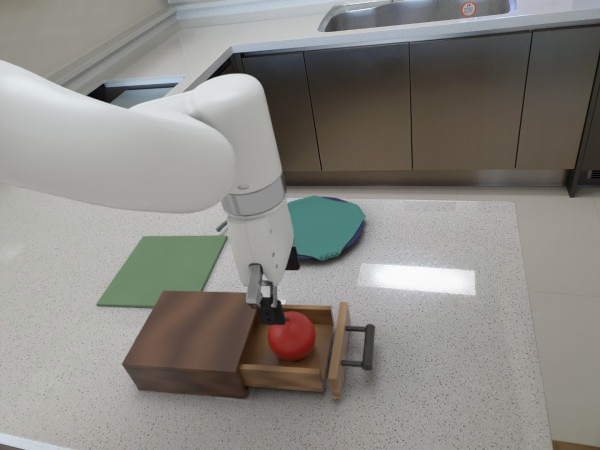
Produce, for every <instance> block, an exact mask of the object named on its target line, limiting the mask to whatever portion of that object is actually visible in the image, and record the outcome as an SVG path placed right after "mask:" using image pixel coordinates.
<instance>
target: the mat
mask: <svg viewBox="0 0 600 450" xmlns="http://www.w3.org/2000/svg"><path fill="white" fill-rule="evenodd" d="M228 238H229V236H228V235H143V236H142V237H141V238H140V240H139V242H137V244H136V246H135V247H134V248H133V250H132V252H131V253H130V255H129V256H128V257H127V259H126V260H125V262H124V263H123V264H122V266H121V267H120V269H119V270H118V272H117V273H116V275H115V276H114V277H113V279H112V280H111V282H110V283H109V284H108V286H107V287H106V289H105V291H104V292H103V293H102V295H101V296H100V298H99V299H98V301H97V302H96V303H95V305H96V306H97V307H113V308H114V307H117V308H144V309H145V308H146V309H153V308H154V306H155V304H156V302H157V301H158V299H159V297H160V295H161V293H162V292H163V291H204V288H205V286H206V284H207V282H208V280H209V277H210V276H211V273H212V272H213V269H214V267H215V265H216V263H217V262H218V259H219V257H220V255H221V252H222V250H223V249H224V247H225V244H226V242H227V240H228Z"/></svg>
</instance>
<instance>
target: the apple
mask: <svg viewBox="0 0 600 450" xmlns="http://www.w3.org/2000/svg"><path fill="white" fill-rule="evenodd" d="M284 315H285V318H286V323H285V325H270V327H269V330H268V343H269V346H270V348H271V350H272V351H273V353H274V354H275V355H277V356H278V357H279V358H281V359H283V360H287V361H290V362H298V361H301V360H303V359H304V358H305V357H306V356H307V355H308V354H309V353H310V352H311V350H312V349H313V347H314V344H315V340H316V332H315V328H314V325H313V324H312V322H311V321H310V319H309V318H308V317H306V316H305V315H304V314H302V313H299V312H294V311H290V312H285V313H284Z"/></svg>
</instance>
